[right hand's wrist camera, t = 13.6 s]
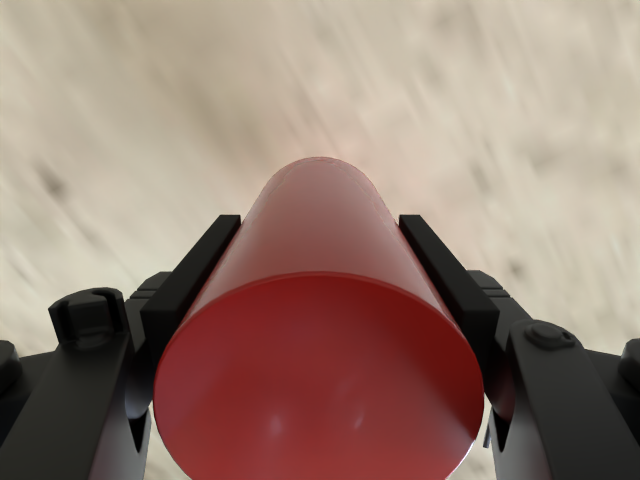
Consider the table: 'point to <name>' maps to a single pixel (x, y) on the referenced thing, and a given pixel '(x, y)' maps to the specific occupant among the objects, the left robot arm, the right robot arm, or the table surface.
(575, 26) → the table surface
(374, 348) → the tin
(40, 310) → the table surface
